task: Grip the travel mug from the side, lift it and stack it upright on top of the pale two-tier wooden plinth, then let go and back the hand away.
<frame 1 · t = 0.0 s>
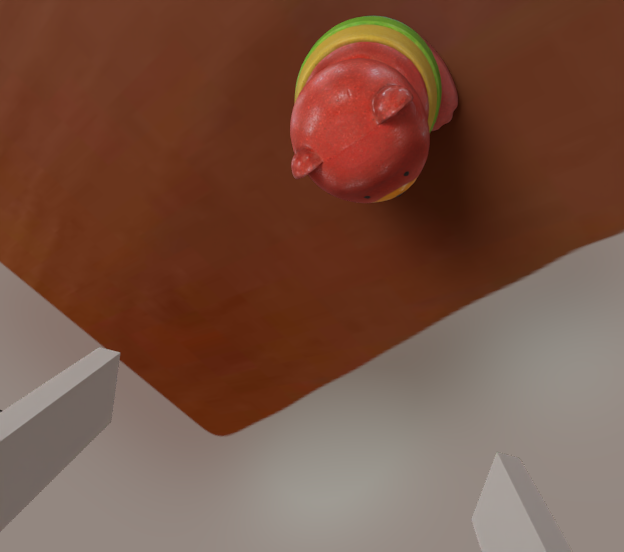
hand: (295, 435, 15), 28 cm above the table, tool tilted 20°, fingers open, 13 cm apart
stacking bear: (374, 87, 35), on the table
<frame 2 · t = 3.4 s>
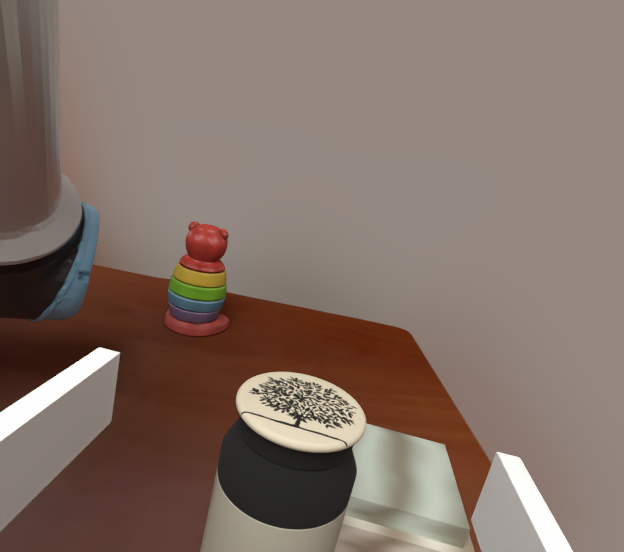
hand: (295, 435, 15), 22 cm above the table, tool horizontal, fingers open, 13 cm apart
stacking bear: (192, 326, 76), on the table
plinth: (381, 506, 44), on the table
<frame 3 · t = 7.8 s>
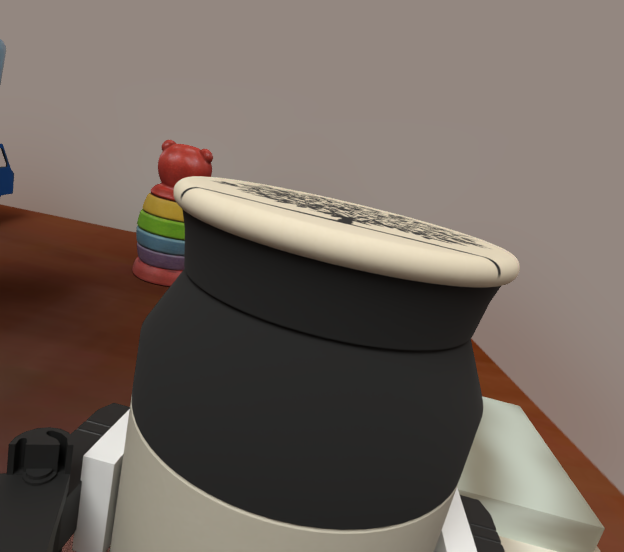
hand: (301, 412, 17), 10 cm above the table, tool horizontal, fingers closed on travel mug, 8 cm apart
stacking bear: (168, 277, 61), on the table
plinth: (436, 495, 29), on the table
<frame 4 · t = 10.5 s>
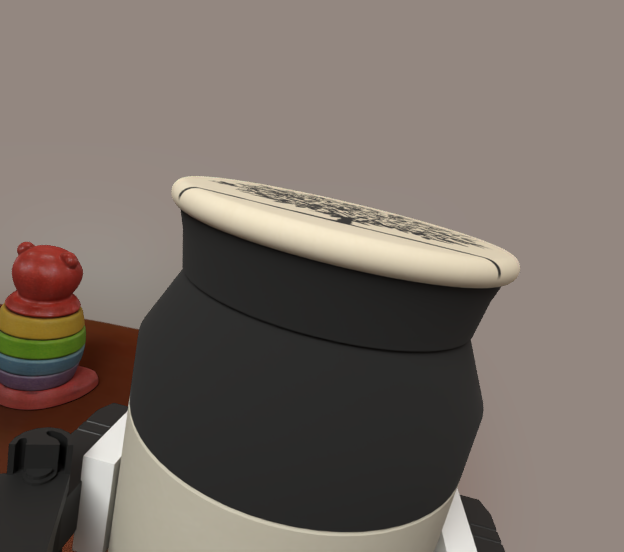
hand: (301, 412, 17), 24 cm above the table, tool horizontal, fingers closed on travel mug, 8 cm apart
stacking bear: (38, 389, 53), on the table
when the fingers open (16 cm above the table, at t = 13.1 s): travel mug drops 1 cm, resting on plinth.
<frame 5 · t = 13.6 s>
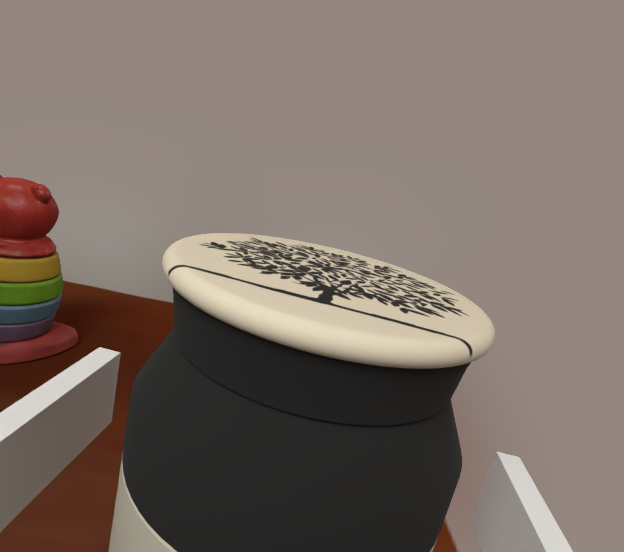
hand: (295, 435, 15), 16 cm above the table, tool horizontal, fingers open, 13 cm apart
stacking bear: (9, 345, 47), on the table
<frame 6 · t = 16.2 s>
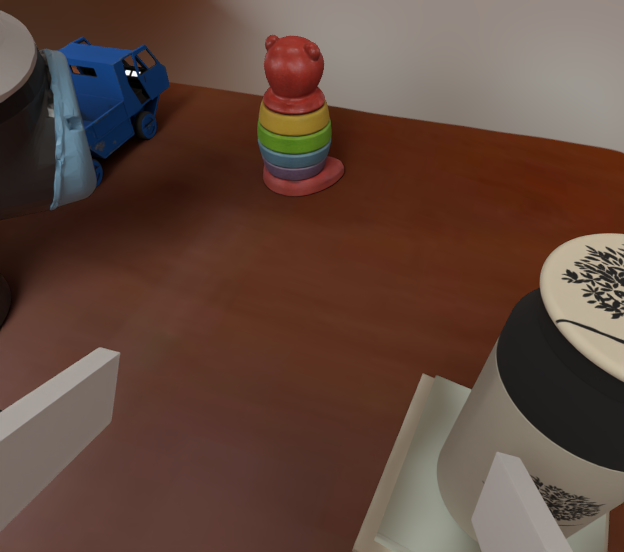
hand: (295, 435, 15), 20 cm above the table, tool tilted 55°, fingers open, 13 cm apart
travel mug: (498, 487, 28), point 5 cm above the table, touching plinth
toy vehicle: (103, 147, 67), on the table
stacking bear: (297, 177, 61), on the table
plinth: (479, 511, 32), on the table
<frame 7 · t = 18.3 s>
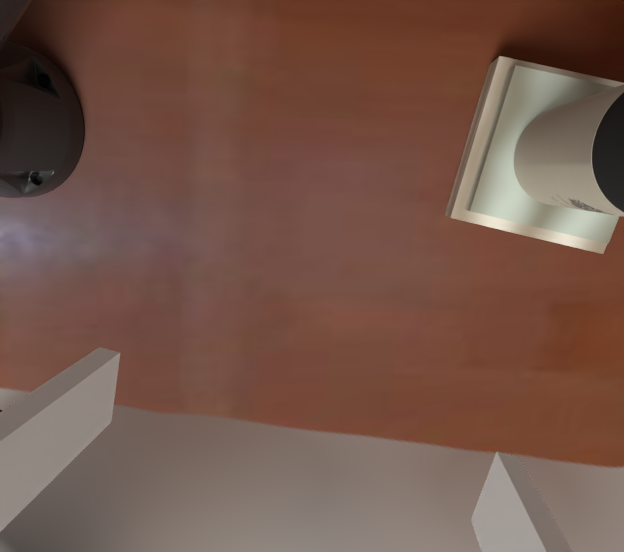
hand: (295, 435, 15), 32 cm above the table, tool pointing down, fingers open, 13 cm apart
travel mug: (561, 157, 37), point 5 cm above the table, touching plinth
plinth: (539, 159, 42), on the table
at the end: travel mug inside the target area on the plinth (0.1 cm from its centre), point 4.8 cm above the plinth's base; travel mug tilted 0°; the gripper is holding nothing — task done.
